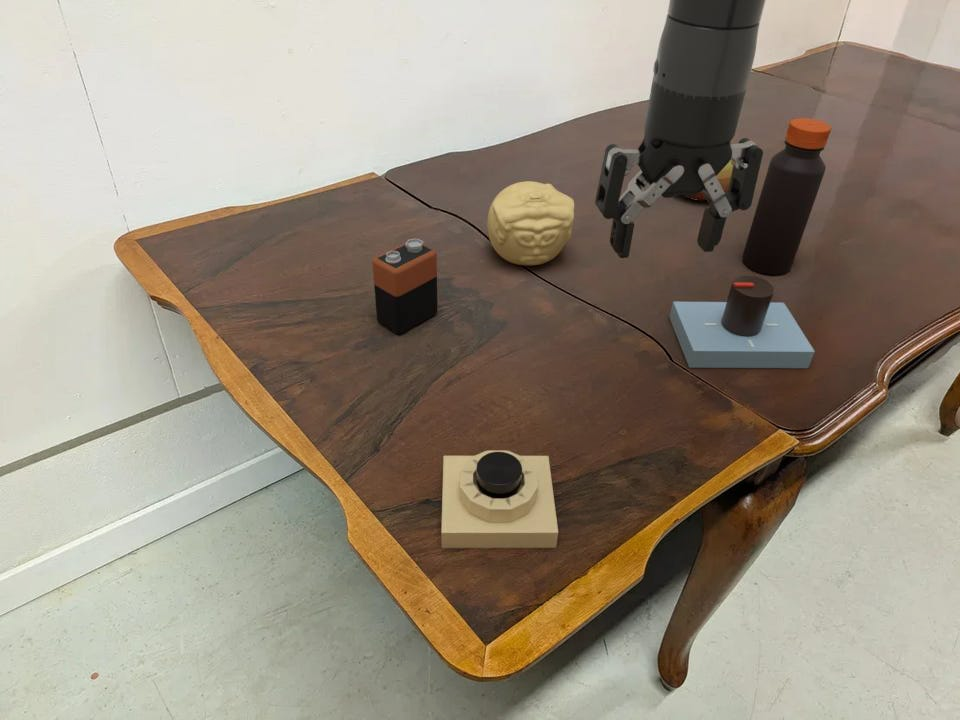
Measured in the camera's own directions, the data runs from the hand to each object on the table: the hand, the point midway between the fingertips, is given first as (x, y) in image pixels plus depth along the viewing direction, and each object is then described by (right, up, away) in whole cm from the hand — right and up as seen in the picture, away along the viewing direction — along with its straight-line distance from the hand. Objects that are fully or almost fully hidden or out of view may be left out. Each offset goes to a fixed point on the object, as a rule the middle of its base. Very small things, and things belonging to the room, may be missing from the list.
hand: (663, 250), depth 68 cm
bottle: (+23, +3, +33) cm, 40 cm away
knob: (+14, -6, +16) cm, 22 cm away
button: (-16, -21, -5) cm, 27 cm away
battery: (-27, -5, +20) cm, 34 cm away
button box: (-16, -24, -3) cm, 29 cm away
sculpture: (-11, +4, +33) cm, 35 cm away
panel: (+13, -8, +18) cm, 24 cm away
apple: (+19, +17, +50) cm, 56 cm away
